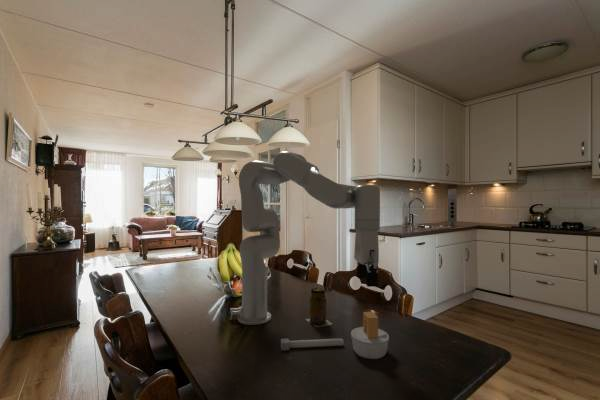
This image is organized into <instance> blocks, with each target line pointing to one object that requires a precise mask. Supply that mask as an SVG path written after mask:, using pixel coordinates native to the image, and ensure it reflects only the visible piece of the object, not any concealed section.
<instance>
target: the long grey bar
mask: <svg viewBox="0 0 600 400" xmlns="http://www.w3.org/2000/svg"><path fill="white" fill-rule="evenodd" d="M344 344H345V343H344V339H343V338H327V339H326V338H324V339H323V338H321V339H300V340H290V339H289V338H280V350H281V351H290V349H297V348H299V349H300V348H315V347H316V348H317V347H318V348H319V347H321V348H322V347H341V346H343V345H344Z"/></svg>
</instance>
